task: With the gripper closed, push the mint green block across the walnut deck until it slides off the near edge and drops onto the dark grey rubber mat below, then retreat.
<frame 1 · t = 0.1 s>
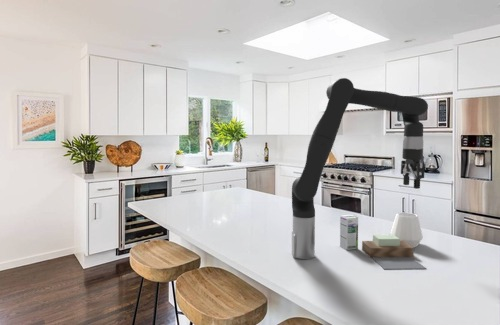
hand: (411, 186, 131), 29 cm above the kitchen island, fingers open, 8 cm apart
mat: (398, 263, 125), on the kitchen island
deck: (386, 253, 135), on the kitchen island
syrup box: (348, 247, 142), on the kitchen island
cup: (405, 244, 147), on the kitchen island
mint green block: (386, 240, 136), point 5 cm above the kitchen island, touching deck
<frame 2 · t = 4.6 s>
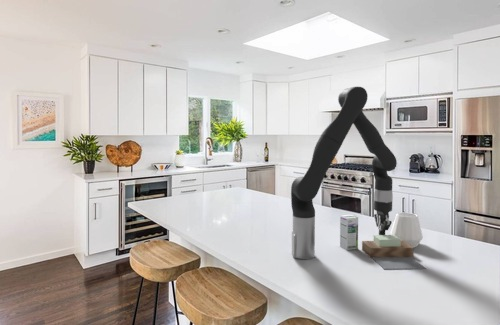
hand: (381, 238, 140), 5 cm above the kitchen island, fingers closed
mint green block: (386, 240, 135), point 5 cm above the kitchen island, touching deck, gripper
everything else where it was.
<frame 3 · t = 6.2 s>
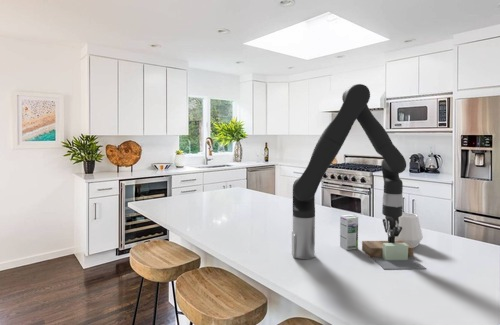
hand: (391, 244, 131), 5 cm above the kitchen island, fingers closed
mint green block: (395, 251, 128), point 3 cm above the kitchen island, tilted 93°, touching gripper, mat
everything else where it was.
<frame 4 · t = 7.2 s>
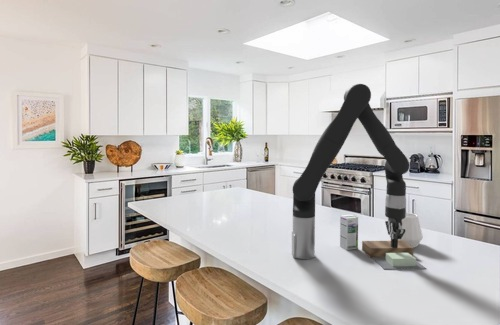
hand: (394, 247, 128), 5 cm above the kitchen island, fingers closed
mint green block: (400, 259, 124), point 2 cm above the kitchen island, tilted 180°, touching mat
everything else where it was.
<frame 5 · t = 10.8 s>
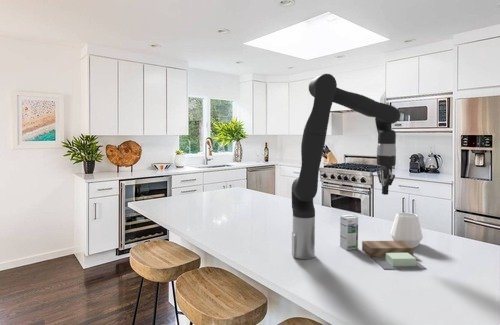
hand: (385, 194, 136), 25 cm above the kitchen island, fingers closed
nothing on the kitchen island moved.
at the end: mint green block point 1.8 cm above the kitchen island; mint green block inside the target area on the mat (0.6 cm from its centre), point 1.8 cm above the mat's base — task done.
